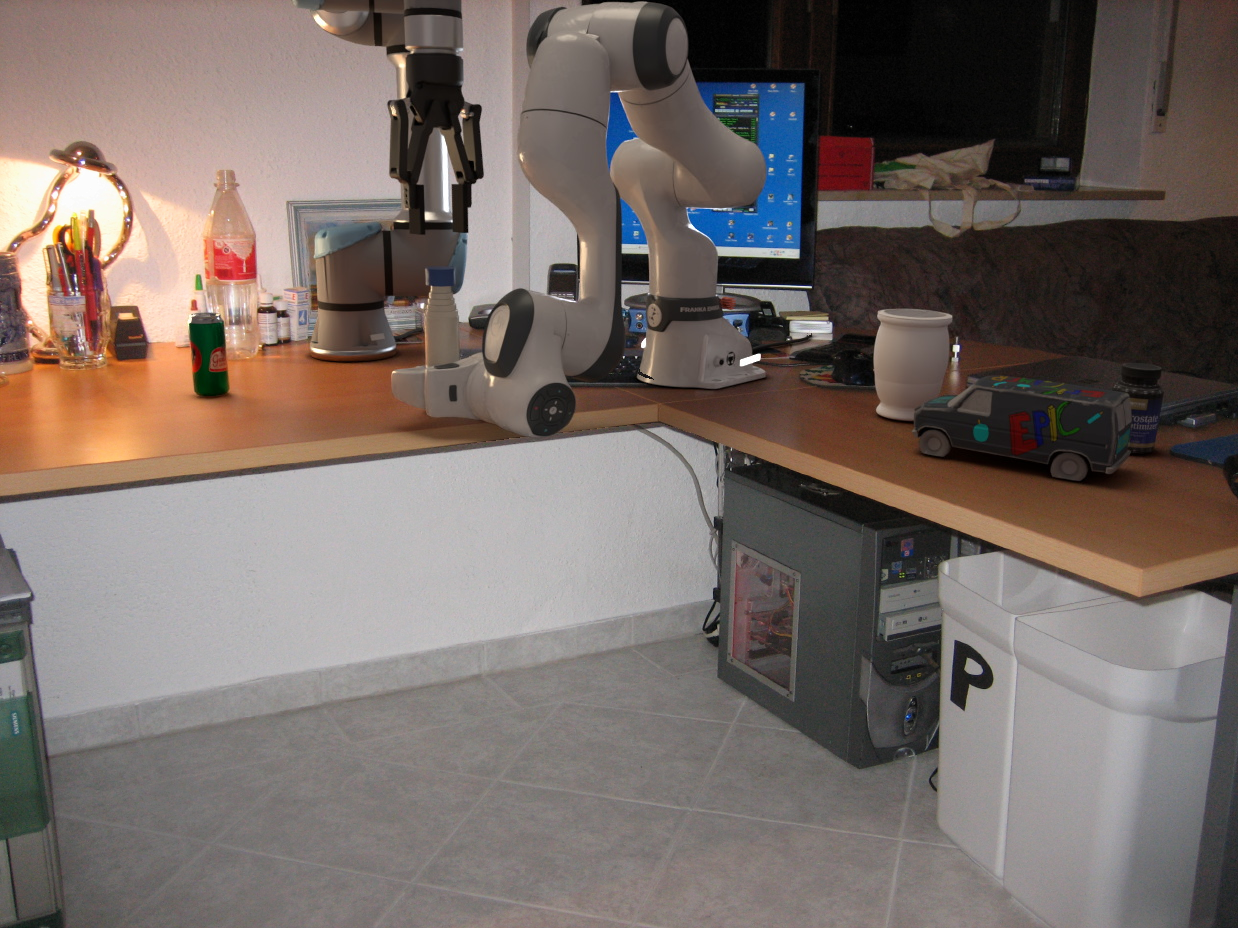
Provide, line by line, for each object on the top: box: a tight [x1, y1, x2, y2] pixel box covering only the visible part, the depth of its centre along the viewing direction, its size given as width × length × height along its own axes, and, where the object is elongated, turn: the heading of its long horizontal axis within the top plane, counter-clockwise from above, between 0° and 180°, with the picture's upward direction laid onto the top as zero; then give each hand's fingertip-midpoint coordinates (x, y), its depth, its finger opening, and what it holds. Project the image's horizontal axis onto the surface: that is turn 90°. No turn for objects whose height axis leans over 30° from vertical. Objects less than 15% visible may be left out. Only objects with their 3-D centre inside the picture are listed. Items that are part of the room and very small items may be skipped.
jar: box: [873, 308, 953, 422], centre depth 154 cm, size 11×10×15 cm
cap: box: [425, 266, 455, 287], centre depth 148 cm, size 4×4×2 cm
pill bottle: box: [1111, 362, 1165, 455], centre depth 139 cm, size 6×6×11 cm
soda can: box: [187, 312, 231, 398], centre depth 160 cm, size 5×5×12 cm
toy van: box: [911, 374, 1133, 482], centre depth 133 cm, size 11×25×10 cm, turn 54°
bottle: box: [423, 286, 461, 366], centre depth 151 cm, size 5×5×20 cm
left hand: (439, 233), depth 146 cm, fingers open, 6 cm apart
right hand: (439, 369), depth 153 cm, fingers closed on bottle, 5 cm apart
